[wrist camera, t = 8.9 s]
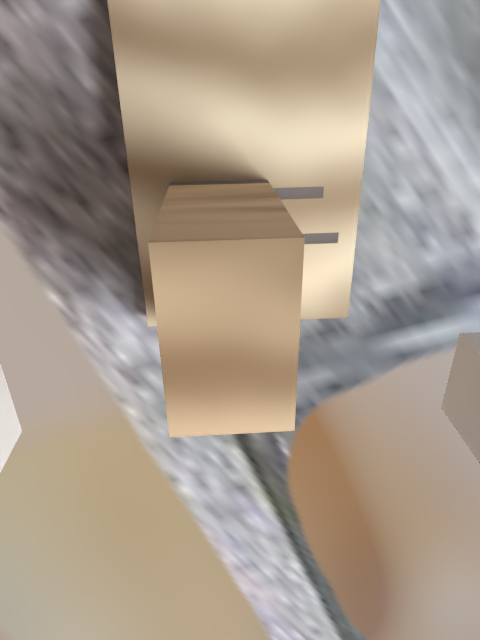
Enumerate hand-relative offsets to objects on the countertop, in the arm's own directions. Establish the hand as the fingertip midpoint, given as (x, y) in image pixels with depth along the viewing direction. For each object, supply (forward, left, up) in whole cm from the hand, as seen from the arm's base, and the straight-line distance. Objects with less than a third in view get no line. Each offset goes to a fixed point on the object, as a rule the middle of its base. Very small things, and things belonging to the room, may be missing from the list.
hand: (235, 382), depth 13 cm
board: (-3, +1, -14) cm, 15 cm away
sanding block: (+1, 0, -13) cm, 13 cm away
